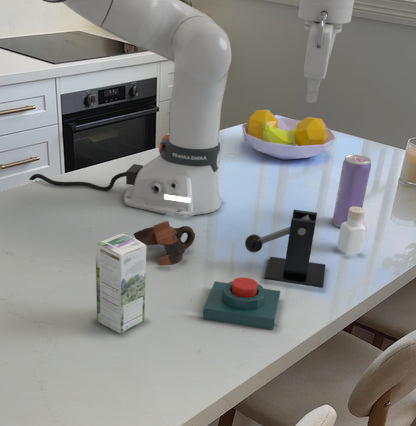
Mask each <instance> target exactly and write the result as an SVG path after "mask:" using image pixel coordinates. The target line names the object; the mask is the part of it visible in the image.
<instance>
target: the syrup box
mask: <svg viewBox="0 0 416 426" xmlns="http://www.w3.org/2000/svg"><path fill="white" fill-rule="evenodd" d="M146 273H147V245H145V244H144V243H142V242H140V241H138V240H137V239H136V238H135V237H134V236H130V235H127V234H124V233H119V234H116V235H114V236H111V237H109V238H106V239H104V240H101V241H99V242H96V243H95V284H96V285H95V289H96V290H95V291H96V321H97V323H99V324H101V325H103V326H105V327H107V328H109V329H110V330H112V331H114V332H116V333H118V334H123V333H125V332H127V331H128V330H132V328H135V327H137V326H138V325H141V324H143V323H144V322H145V309H146V307H145V305H146V304H145V303H146V277H147V276H146V275H147V274H146Z"/></svg>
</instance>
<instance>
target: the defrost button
mask: <svg viewBox="0 0 416 426" xmlns="http://www.w3.org/2000/svg"><path fill="white" fill-rule="evenodd" d="M232 281H233V282H232V290H231V291H232V294H234V295H236V296H238V297H244V298H248V297H254V296H256V294H257V288H258V284H259V283H258V281H256V280H255V279H253V278H250V277H243V276H242V277H237V278H234V279H233V280H232Z"/></svg>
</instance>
